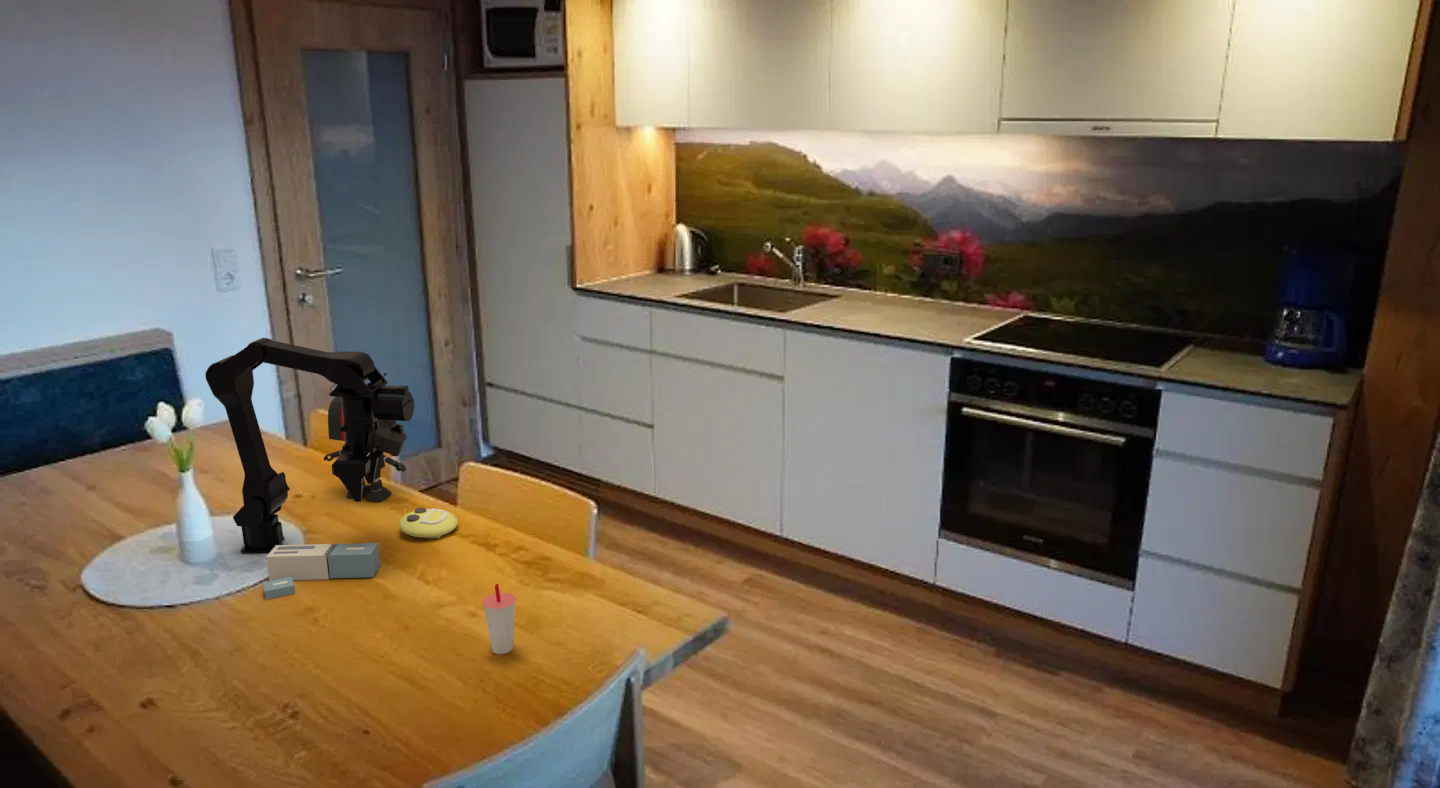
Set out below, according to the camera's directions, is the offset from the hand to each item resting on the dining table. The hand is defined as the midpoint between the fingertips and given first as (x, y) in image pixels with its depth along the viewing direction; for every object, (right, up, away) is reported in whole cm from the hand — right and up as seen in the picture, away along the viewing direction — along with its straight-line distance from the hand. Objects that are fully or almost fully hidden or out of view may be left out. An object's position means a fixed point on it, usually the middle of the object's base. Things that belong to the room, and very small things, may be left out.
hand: (364, 492), depth 193 cm
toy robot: (-10, -4, +31) cm, 33 cm away
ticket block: (-9, -15, -6) cm, 19 cm away
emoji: (+9, -10, +13) cm, 19 cm away
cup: (+35, -23, -32) cm, 52 cm away
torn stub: (-11, -17, -13) cm, 24 cm away
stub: (0, -15, -6) cm, 16 cm away
